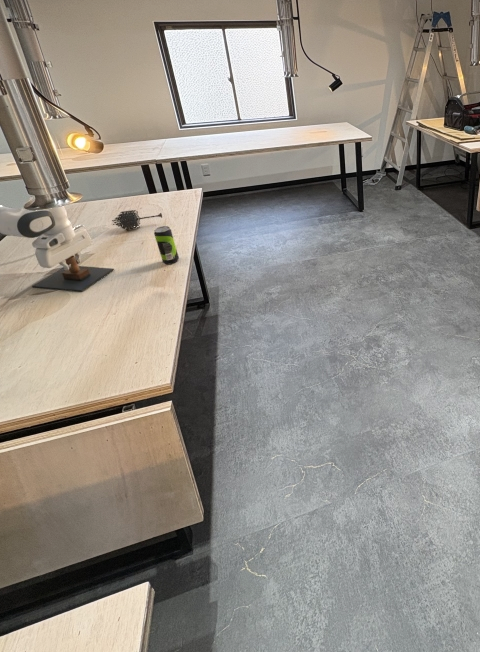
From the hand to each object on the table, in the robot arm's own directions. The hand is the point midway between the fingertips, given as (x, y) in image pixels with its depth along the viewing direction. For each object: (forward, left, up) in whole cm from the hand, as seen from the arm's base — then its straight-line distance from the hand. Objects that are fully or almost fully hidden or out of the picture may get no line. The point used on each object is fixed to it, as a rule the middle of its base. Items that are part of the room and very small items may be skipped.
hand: (73, 266), depth 159 cm
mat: (-2, 0, -6) cm, 6 cm away
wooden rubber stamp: (0, 0, -5) cm, 5 cm away
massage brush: (-10, +47, -6) cm, 49 cm away
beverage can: (+28, +18, -6) cm, 34 cm away
